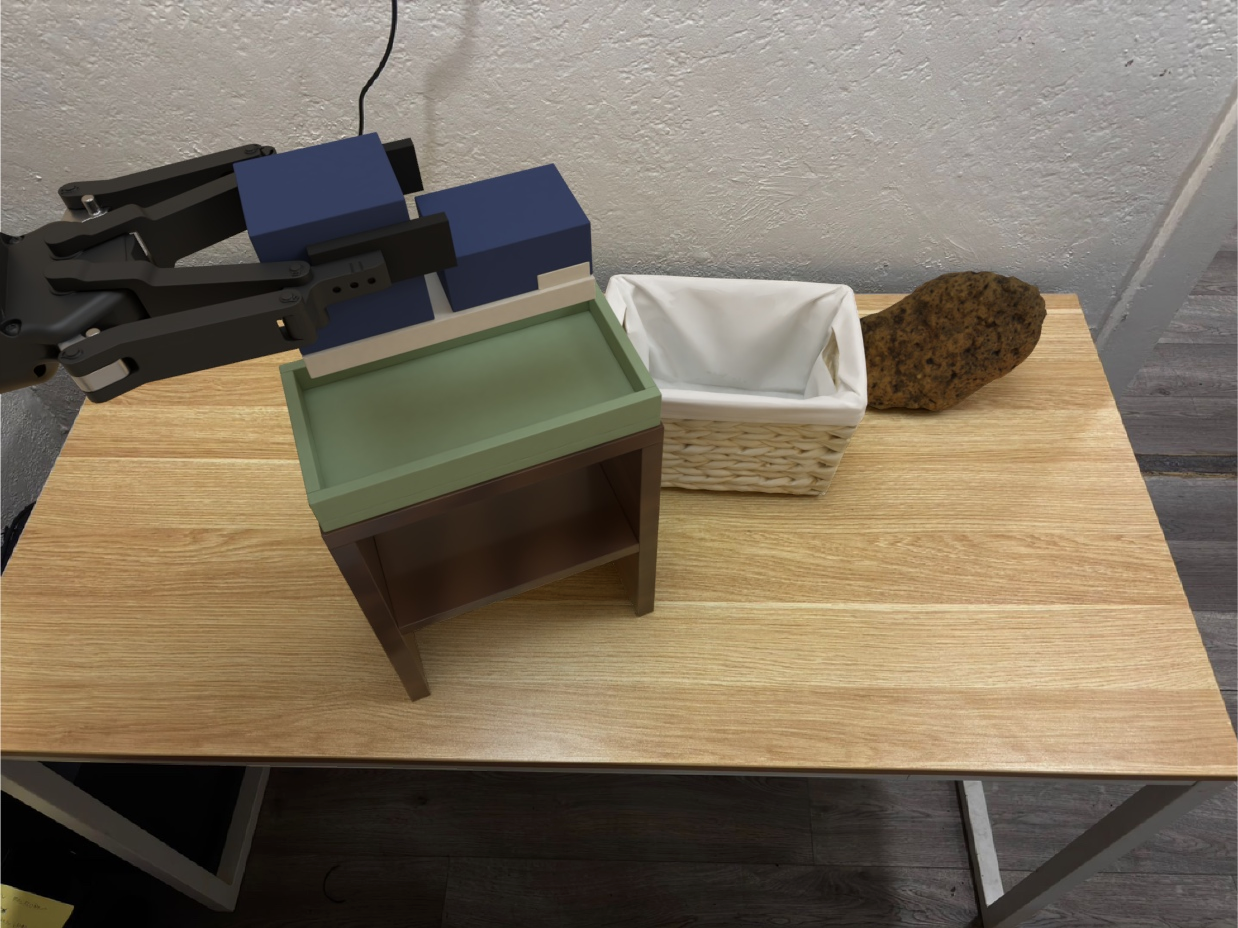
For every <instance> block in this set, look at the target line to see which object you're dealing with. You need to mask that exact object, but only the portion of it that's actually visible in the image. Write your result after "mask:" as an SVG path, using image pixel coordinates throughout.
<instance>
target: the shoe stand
mask: <svg viewBox="0 0 1238 928" xmlns="http://www.w3.org/2000/svg"><path fill="white" fill-rule="evenodd" d="M663 441H664V425H663V423H662V421H661V420H660V425H658V426H655V427H652V428H649V429H646V430H643V431H639V432H636V433H633V434H630V435H627V436H624V437H621V438H618V439H615V440H611V441H608V442H605V443H602V444H599V445H596V446H593V447H590V448H587V449H583V450H580V451H577V452H574V453H571V454H568V455H565V456H562V457H559V458H555V459H552V460H549V461H546V462H543V463H540V464H537V465H534V466H531V467H527V468H524V469H521V470H518V471H515V472H512V473H509V474H506V475H503V476H499V477H496V478H493V479H490V480H487V481H484V482H481V483H478V484H475V485H471V486H468V487H465V488H462V489H459V490H456V491H453V492H450V493H446V494H443V495H440V496H437V497H434V498H431V499H428V500H425V501H422V502H418V503H415V504H412V505H409V506H406V507H403V508H400V509H397V510H394V511H390V512H387V513H384V514H381V515H378V516H375V517H372V518H369V519H366V520H362V521H359V522H356V523H353V524H350V525H347V526H344V527H341V528H338V529H334V530H331V531H328V532H323V530H322V528H321V526H320V524H319V523H318V522H317V524H318V528H319V532H320V533H319V534H320V537H321V539H322V541H323V542H324V545H325V546H326V548H327V550H328V552H329V554H330V555H331V557H332V559H333V560H334V562H335V565H336V566H337V568H338V570H339V572H340V573H341V575H342V577H343V578H344V581H345V582H346V584H347V586H348V588H349V590H350V591H351V593H352V595H353V597H354V599H355V601H356V602H357V604H358V606H359V608H360V610H361V611H362V614H363V615H364V617H365V619H366V621H367V622H368V624H369V626H370V628H371V629H372V631H373V633H374V635H375V637H376V639H377V640H378V642H379V644H380V646H381V648H382V650H383V651H384V652H385V655H386V656H387V658H388V660H389V662H390V664H391V665H392V667H393V669H394V672H395V673H396V675H397V676H398V678H399V680H400V682H401V684H402V686H403V687H404V689H405V692H406V693H407V695H408V697H409V698H410V700H411V702H413V703H414V702H417V701H419V700H422V699H425V698H427V697H430V696H431V695H432V694H431V690H430V686H429V683H428V680H427V675H426V671H425V669H424V665H423V660H422V658H421V655H420V650H419V647H418V643H417V639H416V636H415V632H416V631H420V630H422V629H425V628H428V627H431V626H434V625H436V624H439V623H441V622H444V621H448V620H450V619H453V618H456V617H459V616H461V615H464V614H465V615H466V614H468V613H470V612H473V611H475V610H479V609H482V608H484V607H487V606H490V605H492V604H496V603H498V602H501V601H504V600H507V599H509V598H512V597H515V596H518V595H521V594H524V593H526V592H529V591H532V590H536V589H538V588H541V587H543V586H546V585H549V584H551V583H555V582H557V581H560V580H563V579H567V578H568V577H571V576H574V575H578V574H580V573H583V572H585V571H588V570H591V569H594V568H597V567H599V566H602V565H605V564H608V563H612V565H613V567H614V569H615V572H616V573H617V576H618V578H619V580H620V582H621V584H622V587H623V589H624V591H625V593H626V596H627V598H628V600H629V602H630V604H631V606H632V609H633V610H634V612H635V615H636V617H637V618H640V617H642V616H645V615H648V614H650V613H654V611H655V598H656V597H655V595H656V594H655V593H656V578H657V577H656V576H657V561H658V546H659V545H658V543H659V525H660V507H661V489H662V487H661V475H662V457H663Z"/></svg>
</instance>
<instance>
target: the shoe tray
mask: <svg viewBox="0 0 1238 928" xmlns="http://www.w3.org/2000/svg"><path fill="white" fill-rule="evenodd" d="M595 292H596V298H595V299H592V300H588V301H585V302H581V303H577V304H574V305H570V306H567V307H563V308H560V309H556V310H553V311H549V312H546V313H542V314H539V315H535V316H532V317H528V318H525V319H521V320H517V321H514V322H510V323H507V324H503V325H500V326H496V327H493V328H489V329H486V330H482V331H479V332H475V333H472V334H468V335H464V336H461V337H457V338H454V339H450V340H447V341H443V342H440V343H436V344H433V345H429V346H426V347H422V348H419V349H415V350H411V351H408V352H404V353H401V354H397V355H394V356H390V357H387V358H383V359H380V360H376V361H373V362H369V363H366V364H362V365H358V366H355V367H351V368H348V369H344V370H341V371H337V372H334V373H330V374H327V375H323V376H320V377H316V378H311V377H310V374H309V372H308V370H307V368H306V365H305V363H304V361H303V358H302V359H301V358H300V359H297V360H293V361H290V362H286V363H283V364H279V365H278V371H279V375H280V380H281V385H282V389H283V394H284V398H285V402H286V408H287V412H288V417H289V421H290V425H291V430H292V435H293V441H294V444H295V448H296V453H297V457H298V462H299V466H300V472H301V475H302V480H303V481H302V482H303V485H304V490H305V494H306V499H307V503H308V506H309V508H310V510H311V511H312V513H313V516H314V517H315V519H316V521H317V524H318V523H319V524H320V526H321V528H322V530H323V532H328V531H331V530H334V529H338V528H341V527H344V526H347V525H350V524H353V523H356V522H359V521H362V520H366V519H369V518H372V517H375V516H378V515H381V514H384V513H387V512H390V511H394V510H397V509H400V508H403V507H406V506H409V505H412V504H415V503H418V502H422V501H425V500H428V499H431V498H434V497H437V496H440V495H443V494H446V493H450V492H453V491H456V490H459V489H462V488H465V487H468V486H471V485H475V484H478V483H481V482H484V481H487V480H490V479H493V478H496V477H499V476H503V475H506V474H509V473H512V472H515V471H518V470H521V469H524V468H527V467H531V466H534V465H537V464H540V463H543V462H546V461H549V460H552V459H555V458H559V457H562V456H565V455H568V454H571V453H574V452H577V451H580V450H583V449H587V448H590V447H593V446H596V445H599V444H602V443H605V442H608V441H611V440H615V439H618V438H621V437H624V436H627V435H630V434H633V433H636V432H639V431H643V430H646V429H649V428H652V427H655V426H658V425H660V419H661V401H662V394H661V392H660V390H659V389H658V387H657V385H656V384H655V382H654V380H653V378H652V377H651V375H650V373H649V372H648V370H647V368H646V366H645V365H644V363H643V361H642V360H641V358H640V356H639V354H638V353H637V351H636V349H635V348H634V346H633V344H632V342H631V341H630V339H629V337H628V336H627V334H626V332H625V330H624V329H623V327H622V325H621V324H620V322H619V320H618V318H617V317H616V315H615V313H614V312H613V310H612V308H611V306H610V305H609V303H608V301H607V300H606V298H605V294H604V293H603V291H602V290H601V287H600V286H599V284H598V283H597V281H596V280H595ZM319 524H318V525H319Z"/></svg>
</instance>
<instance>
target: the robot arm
mask: <svg viewBox="0 0 1238 928" xmlns="http://www.w3.org/2000/svg"><path fill="white" fill-rule="evenodd" d="M382 145H383V148H384V150H385V152H386V155H387V157H388V159H389V162H390V164H391V167H392V169H393V171H394V174H395V176H396V179H397V181H398V183H399V186H400V188H401V191H402V193H403V195H404V196H406V195H412V194H416V193H419V192H423V191H425V187H424V183H423V179H422V175H421V170H420V166H419V160H418V157H417V152H416V147H415V143H414V142H413V140H412V138H411V136H410V137H406V138H401V139H397V140H392V141H388V142H383V143H382ZM276 149H277V148H275V147H274V146H273V145H261V144H259V143H247V144H244V145H241V146H237V147H232V148H229V149H225V150H224V149H223V150H221V151H216V152H212V153H208V154H203V155H201V156H196V157H193V158H189V159H185V160H181V161H180V160H179V161H176V162H173V163H169V164H164V165H161V166H157V167H153V168H150V169H146V170H141V171H137V172H134V173H128V174H125V175H121V176H118V177H114V178H109V179H98V180H82V181H80V180H79V181H73V182H72V181H71V182H67V183H65V184H63V185H62V186H60V187H59V188H58V189H57V194H58V196H59V197H60V199H61V201H62V202H63V203H64V205H65V207H66V209H65V211H64V213H63V216H62V217H61V220H56V221H55V220H54V221H52V222H48V223H46V224H44V225H41V226H40V227H38V228H36V229H34V230H32V231H30V232H26V233H24V234H21V235H17V236H16V235H10V234H7V233H4V232H2V231H0V395H3V394H7V393H10V392H14V391H18V390H21V389H25V388H29V387H33V386H37V385H40V384H44V383H46V382H49V381H50V380H51V379H53V377H55V375H56V373H57V372H58V370H59V367H60V365H61V366H62V367H63V369H64V370H65V371H66V372H67V373H68V375H69V376H70V377H71V379H72V380H73V381H74V382H75V384H76V385H77V386H78V388H79V389H80V390H81V392H82V393H83V394H84V395H85V397H86V398H87V399H88V400H89V402H91V403H93V404H103V403H107V402H110V401H112V400H114V399H116V398H119V397H120V396H122V395H124V394H126V393H128V392H131V391H133V390H135V389H137V388H140V387H141V386H143V385H146V384H149V383H154V382H159V381H163V380H166V379H171V378H176V377H180V376H185V375H189V374H193V373H198V372H202V371H206V370H210V369H215V368H220V367H224V366H228V365H233V364H238V363H242V362H246V361H251V360H256V359H259V358H264V357H268V356H269V357H270V356H272V355H277V354H281V353H285V352H290V351H294V350H299V348H304V347H307V346H310V345H312V344H314V343H315V342H316V341H317V339H318V333H317V331H316V330H318V329H322V328H324V327H326V326H327V325H328V324H329V322H330V317H329V314H328V311H327V309H326V306H328V305H331V304H334V303H338V302H342V301H345V300H349V299H353V298H357V297H360V296H361V295H362V296H364V295H368V294H369V293H371V294H372V293H376V292H380V291H383V290H385V289H386V288H388V287H390V286H392V283H396V282H399V281H403V280H407V279H411V278H415V277H418V276H422V275H426V274H430V273H434V272H438V271H441V270H445V269H449V268H453V267H457V266H458V264H457V259H456V254H455V249H454V244H453V239H452V235H451V230H450V225H449V220H448V218H447V216H446V214H445V212H440V213H436V214H432V215H428V216H424V217H420V218H419V217H416V218H412V219H410V220H408V221H404V222H400V223H396V224H392V225H388V226H384V227H380V228H376V229H372V230H368V231H364V232H359V233H355V234H351V235H347V236H343V237H339V238H335V239H331V240H327V241H323V242H319V243H315V244H311V245H307V246H306V248H307V252H308V255H309V258H310V261H311V263H312V266H310V265H309V264H308V263H307V262H305V261H299V260H298V261H281V262H263V263H260V262H250V263H232V264H231V263H230V264H216V265H215V264H213V265H198V266H197V265H196V266H181V267H180V266H179V267H178V266H177V267H176V263H177V262H178V261H179V260H182V259H184V258H187V257H189V256H191V255H194V254H195V253H198V252H200V251H202V250H205V249H207V248H210V247H211V246H214V245H216V244H218V243H221V242H224V241H225V240H228V239H230V238H232V237H235V236H237V235H239V234H242V233H244V232H246V231H247V226H246V222H245V217H244V213H243V208H242V204H241V199H240V195H239V190H238V186H237V181H236V177H235V173H234V168H233V164H234V163H238V162H242V161H247V160H251V159H256V158H260V157H265V156H269V155H274V154H278V152H277V150H276ZM135 233H136V235H137V236H136V235H135ZM137 237H138V238H137ZM139 240H140V242H141V243H140V242H139ZM142 246H143V247H144V248H143V247H142ZM144 249H145V250H144ZM145 251H146V252H145ZM281 287H284V288H283V290H281ZM278 321H282V323H283V325H280V326H279V323H278Z"/></svg>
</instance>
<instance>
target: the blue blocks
mask: <svg viewBox="0 0 1238 928" xmlns="http://www.w3.org/2000/svg"><path fill="white" fill-rule="evenodd" d="M382 144H383V143H382V140H381V138H380V136H379V133H378V132H377V131H373V132H368V133H364V134H360V135H356V136H351V137H345V138H342V139H337V140H333V141H329V142H324V143H320V144H314V145H310V146H307V147H301V148H297V149H293V150H288V151H284V152H279V153H278V152H277V154H274V155H269V156H265V157H260V158H256V159H251V160H247V161H242V162H238V163H234V164H233V168H234V173H235V177H236V181H237V186H238V190H239V195H240V199H241V204H242V208H243V213H244V217H245V222H246V226H247V230H246V231H247V235H248V238H249V241H250V242H251V245H252V247H253V250H254V252H255V253H256V256H257V259H258V261H259V263H263V262H281V261H298V260H299V261H305V262H307V263H308V264H309V265H310V266H312V263H311V261H310V258H309V255H308V252H307V248H306V246H307V245H311V244H315V243H319V242H323V241H327V240H331V239H335V238H339V237H343V236H347V235H351V234H355V233H359V232H364V231H368V230H372V229H376V228H380V227H384V226H388V225H392V224H396V223H400V222H404V221H408V220H411V218H410V213H409V209H408V205H407V201H406V198H405V195H403V193H402V191H401V188H400V186H399V183H398V181H397V179H396V176H395V174H394V171H393V169H392V167H391V164H390V162H389V159H388V157H387V155H386V152H385V150H384V148H383V145H382ZM413 199H414V204H415V207H416V211H417V217H418V218H420V217H424V216H428V215H432V214H436V213H440V212H445V214H446V216H447V218H448V220H449V225H450V230H451V235H452V239H453V244H454V249H455V254H456V259H457V264H458V266H457V267H453V268H449V269H445V270H441V271H438V272H434V273H430V274H426V275H422V276H418V277H415V278H411V279H407V280H403V281H399V282H396V283H392V286H390V287H388V288H386V289H385V290H383V291H380V292H376V293H372V294H371V293H369V294H368V295H364V296H362V295H361V296H360V297H357V298H353V299H349V300H345V301H342V302H338V303H334V304H331V305H328V306H326V309H327V311H328V314H329V317H330V322H329V324H328V325H327V326H326V327H324V328H322V329H318V330H316V331H317V333H318V339H317V341H316V342H315V343H314V344H312V345H310V346H307V347H304V348H299V349H298V351H299V353H300V355H301V358H302V359H303V361H304V363H305V365H306V368H307V370H308V372H309V374H310V377H311V378H316V377H320V376H323V375H327V374H330V373H334V372H337V371H341V370H344V369H348V368H351V367H355V366H358V365H362V364H366V363H369V362H373V361H376V360H380V359H383V358H387V357H390V356H394V355H397V354H401V353H404V352H408V351H411V350H415V349H419V348H422V347H426V346H429V345H433V344H436V343H440V342H443V341H447V340H450V339H454V338H457V337H461V336H464V335H468V334H472V333H475V332H479V331H482V330H486V329H489V328H493V327H496V326H500V325H503V324H507V323H510V322H514V321H517V320H521V319H525V318H528V317H532V316H535V315H539V314H542V313H546V312H549V311H553V310H556V309H560V308H563V307H567V306H570V305H574V304H577V303H581V302H585V301H588V300H592V299H595V298H596V292H595V281H596V277H595V276H594V269H593V246H592V223H591V220H590V219H589V217H588V216H587V214H586V213H585V211H584V209H583V208H582V207H581V205H580V203H579V201H578V200H577V198H576V197H575V195H574V193H573V192H572V190H571V188H570V187H569V185H568V183H567V182H566V180H565V179H564V177H563V176H562V174H561V172H560V171H559V169H558V168H557V165H555V163H548V164H544V165H539V166H535V167H531V168H527V169H523V170H519V171H515V172H511V173H510V172H509V173H506V174H503V175H497V176H494V177H489V178H485V179H482V180H478V181H473V182H469V183H464V184H461V185H457V186H453V187H449V188H445V189H440V190H436V191H432V192H428V193H423V194H419V195H416V196H414V197H413ZM283 288H284V287H281V290H283Z"/></svg>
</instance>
